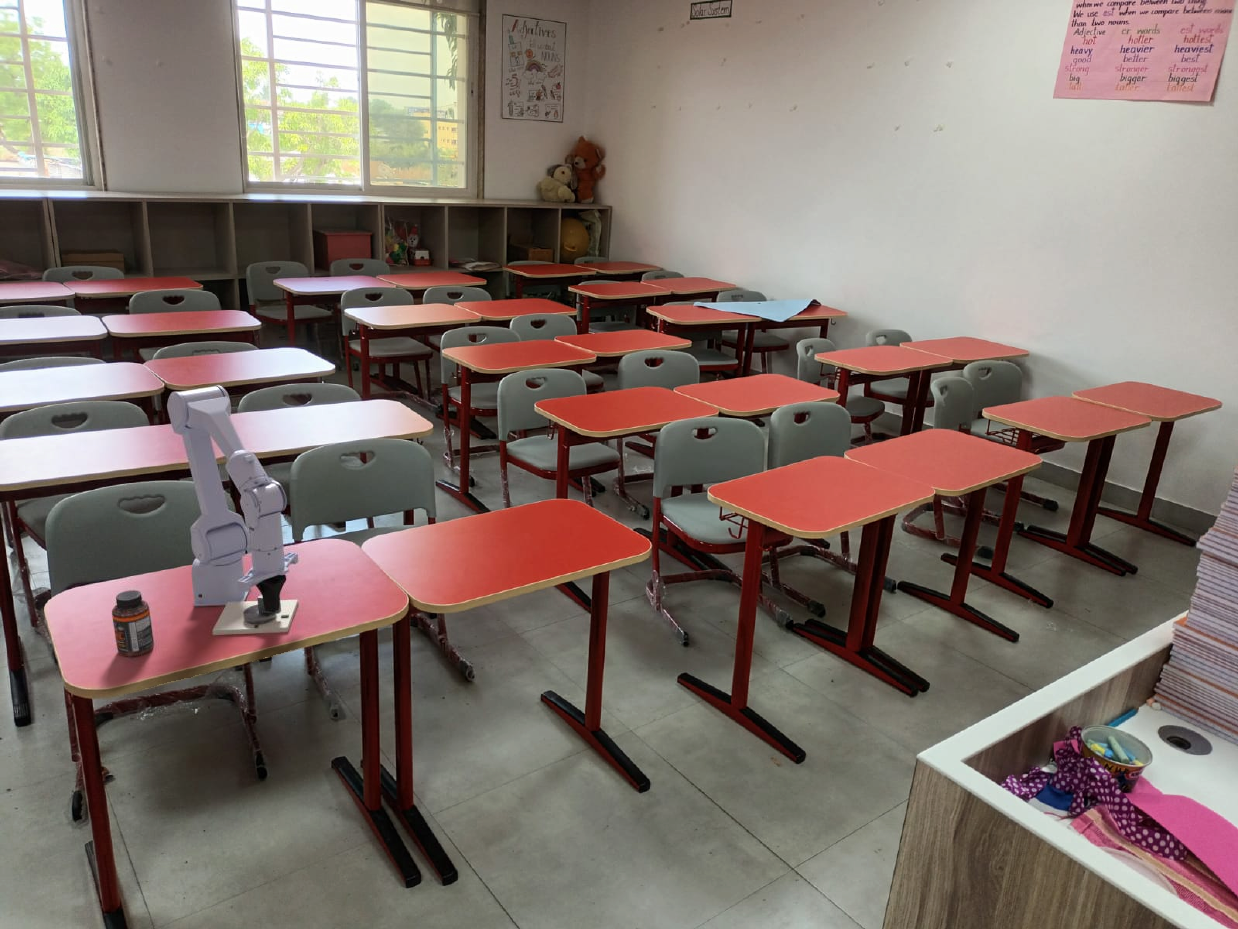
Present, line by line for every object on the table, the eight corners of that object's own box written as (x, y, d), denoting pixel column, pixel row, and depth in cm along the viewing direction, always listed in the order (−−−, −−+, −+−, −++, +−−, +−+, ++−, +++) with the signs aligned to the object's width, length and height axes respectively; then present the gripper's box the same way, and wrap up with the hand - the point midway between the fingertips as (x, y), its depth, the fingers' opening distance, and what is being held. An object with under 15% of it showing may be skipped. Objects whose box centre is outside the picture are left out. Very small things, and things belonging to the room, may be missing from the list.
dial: (238, 623, 168) (236, 600, 166) (252, 608, 173) (249, 586, 172) (274, 625, 167) (272, 602, 166) (286, 610, 173) (284, 588, 172)
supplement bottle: (111, 651, 158) (102, 595, 155) (143, 638, 163) (135, 584, 160) (128, 661, 155) (120, 605, 152) (161, 648, 160) (153, 593, 156)
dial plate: (213, 635, 165) (212, 629, 165) (228, 606, 176) (227, 600, 176) (287, 632, 168) (287, 626, 167) (298, 603, 179) (297, 598, 178)
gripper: (258, 563, 156) (264, 630, 160) (309, 535, 169) (313, 598, 174) (226, 557, 158) (232, 623, 162) (279, 529, 171) (284, 591, 176)
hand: (272, 609), depth 168 cm, fingers closed, pressing on dial
